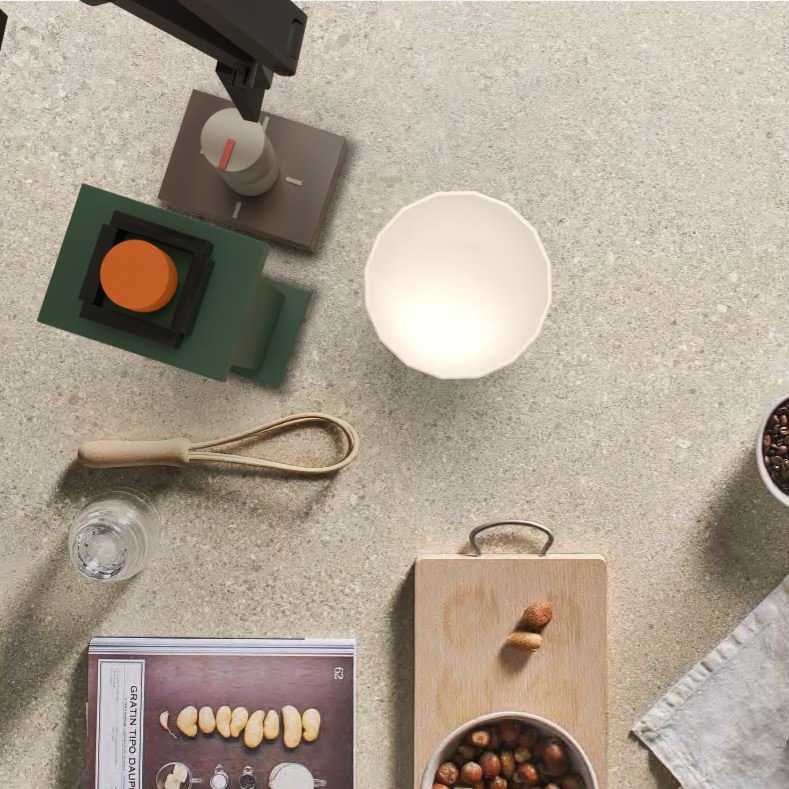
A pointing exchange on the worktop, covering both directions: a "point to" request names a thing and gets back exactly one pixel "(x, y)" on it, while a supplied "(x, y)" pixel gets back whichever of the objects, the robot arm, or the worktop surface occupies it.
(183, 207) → the dial panel
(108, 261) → the button
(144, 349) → the control post
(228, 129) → the dial
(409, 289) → the cup
